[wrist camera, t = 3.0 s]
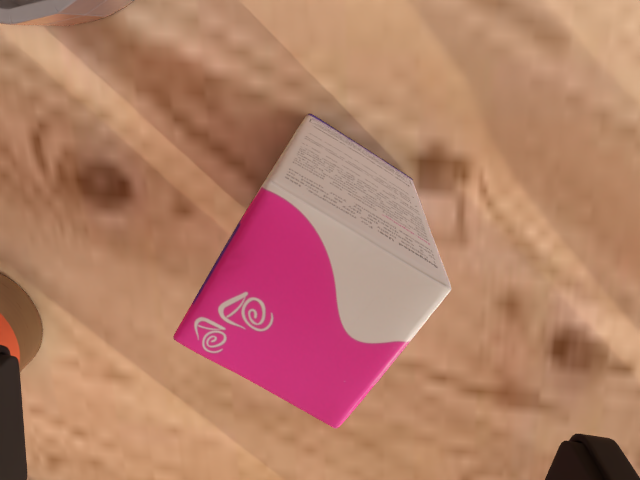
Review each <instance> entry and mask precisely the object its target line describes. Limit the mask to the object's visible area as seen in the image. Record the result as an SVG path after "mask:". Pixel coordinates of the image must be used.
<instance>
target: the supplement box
mask: <svg viewBox="0 0 640 480" xmlns="http://www.w3.org/2000/svg"><path fill="white" fill-rule="evenodd" d="M450 291H451V284H450V282H449V279H448V276H447V273H446V271H445V268H444V265H443V263H442V260H441V258H440V255H439V252H438V249H437V246H436V244H435V241H434V238H433V236H432V233H431V230H430V227H429V225H428V222H427V219H426V216H425V214H424V211H423V208H422V205H421V202H420V200H419V197H418V194H417V192H416V189H415V186H414V183H413V181H412V178H410V177H409V176H407V175H406V174H404V173H403V172H401V171H400V170H398V169H397V168H395V167H393V166H392V165H390V164H389V163H387V162H386V161H384V160H383V159H381V158H379V157H378V156H376V155H375V154H373V153H372V152H370V151H369V150H367V149H366V148H364V147H363V146H361V145H359V144H358V143H356V142H355V141H353V140H352V139H350V138H348V137H347V136H345V135H344V134H342V133H341V132H339V131H338V130H336V129H334V128H333V127H331V126H330V125H328V124H327V123H325V122H324V121H322V120H321V119H319V118H317V117H316V116H314V115H312V114H308V115H307V116H306V117H305V118H304V120H303V121H302V123H301V124H300V126H299V127H298V129H297V130H296V132H295V133H294V135H293V137H292V138H291V140H290V142H289V143H288V145H287V146H286V148H285V150H284V151H283V153H282V154H281V156H280V157H279V159H278V160H277V162H276V164H275V165H274V167H273V169H272V170H271V172H270V173H269V175H268V176H267V178H266V180H265V181H264V183H263V184H262V186H261V188H260V189H259V191H258V193H257V194H256V196H255V197H254V199H253V201H252V202H251V204H250V205H249V207H248V209H247V210H246V212H245V214H244V215H243V217H242V218H241V220H240V222H239V223H238V225H237V227H236V228H235V230H234V232H233V233H232V235H231V237H230V239H229V240H228V242H227V244H226V245H225V247H224V249H223V251H222V252H221V254H220V256H219V258H218V259H217V261H216V263H215V264H214V266H213V268H212V270H211V271H210V273H209V275H208V277H207V278H206V280H205V282H204V284H203V285H202V287H201V289H200V290H199V292H198V294H197V296H196V297H195V299H194V301H193V303H192V304H191V306H190V308H189V310H188V311H187V313H186V315H185V317H184V318H183V320H182V322H181V324H180V325H179V327H178V329H177V331H176V333H175V334H174V340H176V341H177V342H179V343H180V344H182V345H184V346H185V347H187V348H189V349H191V350H193V351H194V352H196V353H198V354H200V355H202V356H204V357H205V358H207V359H209V360H211V361H213V362H215V363H217V364H219V365H221V366H223V367H225V368H227V369H229V370H231V371H233V372H235V373H237V374H239V375H240V376H242V377H244V378H246V379H248V380H250V381H252V382H253V383H255V384H257V385H259V386H261V387H262V388H264V389H266V390H268V391H269V392H271V393H273V394H275V395H277V396H278V397H280V398H282V399H284V400H285V401H287V402H289V403H291V404H293V405H294V406H296V407H298V408H300V409H301V410H303V411H305V412H307V413H308V414H310V415H312V416H314V417H315V418H317V419H319V420H321V421H323V422H324V423H326V424H328V425H330V426H331V427H333V428H338V427H339V426H340V425H341V424H342V423H343V422H344V421H345V420H346V419H347V418H348V417H349V415H350V414H351V413H352V412H353V411H354V409H355V408H356V407H357V406H358V405H359V404H360V402H361V401H362V400H363V399H364V398H365V396H366V395H367V394H368V392H369V391H370V390H371V389H372V387H373V386H374V385H375V384H376V383H377V382H378V381H379V380H380V378H381V377H382V376H383V374H384V373H385V372H386V371H387V370H388V368H389V367H390V366H391V365H392V363H393V362H394V361H395V359H396V358H397V357H398V356H399V355H400V353H401V352H402V351H403V350H404V348H405V347H406V346H407V345H408V343H409V342H410V341H411V340H412V338H413V337H414V336H415V335H416V334H417V332H418V331H419V330H420V328H421V327H422V326H423V325H424V323H425V322H426V321H427V320H428V318H429V317H430V316H431V314H432V313H433V312H434V311H435V310H436V309H437V307H438V306H439V305H440V304H441V302H442V301H443V300H444V298H445V297H446V296H447V295H448V293H449V292H450Z"/></svg>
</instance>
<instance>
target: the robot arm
mask: <svg viewBox="0 0 640 480" xmlns="http://www.w3.org/2000/svg"><path fill="white" fill-rule="evenodd" d="M0 480H27V463H26V450H25V436H24V423H23V410H22V396H21V383H20V370H19V361H18V359H17V357H15V356H11V354H10V350H9V349H8V347H6V346H4V345H0ZM545 480H640V478H639V476H638V475H637V473H636V472H635V470H634V469H633V467H632V465H631V464H630V462H629V461H628V459H627V458H626V456H625V455H624V453H623V452H622V450H621V449H620V447H619V446H618V445H617V443H616V442H615V441H614V440H612V439H610V438H604V437H597V436H591V435H584V434H575V435H573V436H572V437H571V439H570V440H569V441H564V442H562V443H561V445H560V446H559V449H558V451H557V453H556V456H555V458H554V460H553V462H552V465H551V467H550V469H549V471H548V474H547V476H546V478H545Z"/></svg>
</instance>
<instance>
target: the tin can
mask: <svg viewBox="0 0 640 480" xmlns="http://www.w3.org/2000/svg"><path fill="white" fill-rule="evenodd" d="M41 340H42V323H41V319H40V316H39V314H38V311H37V309H36V307H35V305H34V303H33V302H32V300H31V299H30V298H29V296H28V295H27V294H26V293H25V292H24V291H23V290H22V289H21V288H20V287H19V286H18V285H17V284H16V283H14V282H13V281H12V280H10V279H9V278H7V277H6V276H4V275H2V274H0V345H4V346H6V347H8V349H9V350H10V354H11V356H15V357H17V359H18V361H19V370H20V372H21V371H22V369H23V368H24V367H25V366H26V365H27V364H28V363H29V362H30V361H31V360H32V359H33V358H34V357H35V355H36V354H37V352H38V350H39V348H40V345H41Z"/></svg>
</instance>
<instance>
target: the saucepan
mask: <svg viewBox="0 0 640 480" xmlns="http://www.w3.org/2000/svg"><path fill="white" fill-rule="evenodd" d="M133 1H134V0H0V23H1V24H10V25H54V26H70V25H74V24H81V23H86V22H91V21H96V20H99V19H101V18H104V17H107V16H110V15H112V14H114V13H116V12H117V11H119V10H121V9H123V8H125V7H126V6H127V5H129V4H130V3H131V2H133Z"/></svg>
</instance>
